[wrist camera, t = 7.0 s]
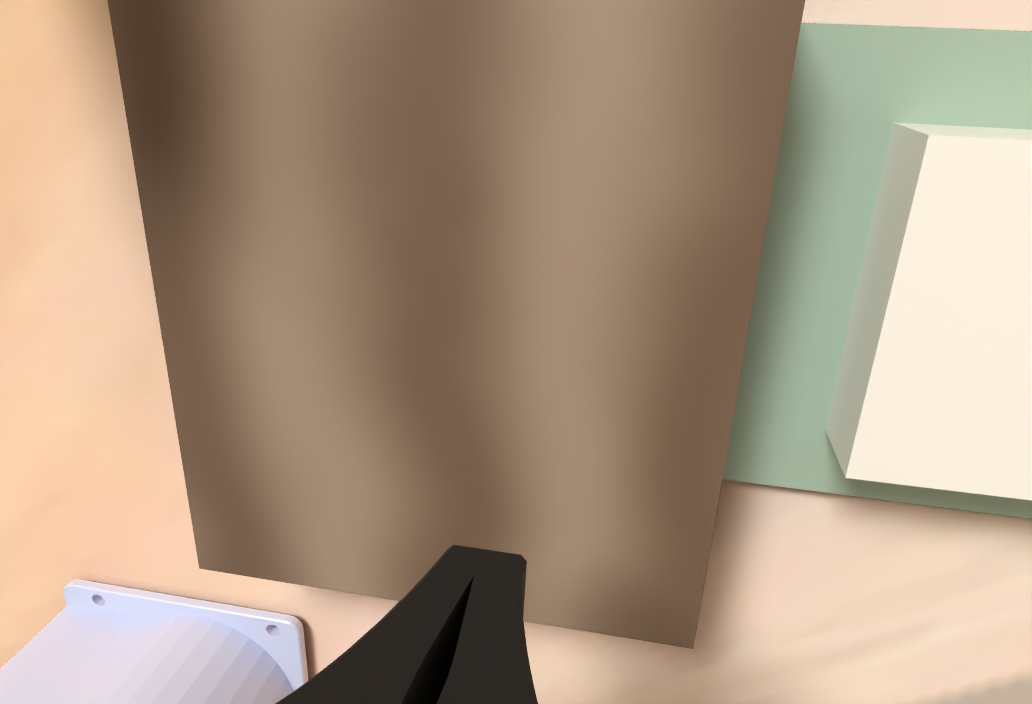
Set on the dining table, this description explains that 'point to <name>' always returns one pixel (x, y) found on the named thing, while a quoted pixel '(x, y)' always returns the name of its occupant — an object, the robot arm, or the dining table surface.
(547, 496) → the brown flat block
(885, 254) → the tile
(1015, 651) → the dining table surface
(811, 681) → the dining table surface
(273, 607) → the dining table surface
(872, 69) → the mat
